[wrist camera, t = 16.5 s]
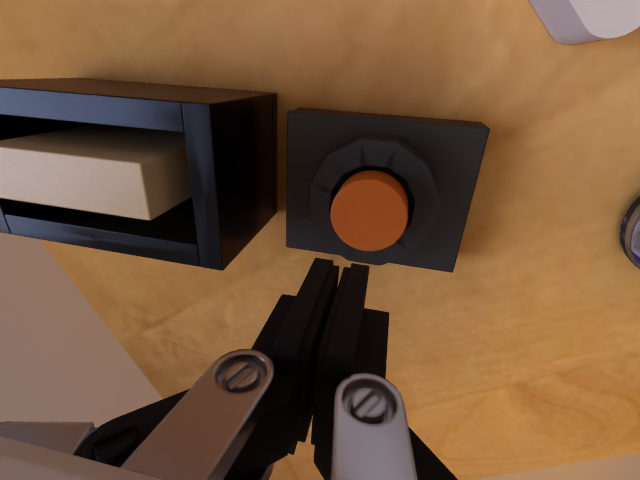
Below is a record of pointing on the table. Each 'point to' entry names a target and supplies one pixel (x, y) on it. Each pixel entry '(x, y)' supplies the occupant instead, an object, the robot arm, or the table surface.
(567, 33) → the u-slot stand
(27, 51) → the table surface
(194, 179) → the toaster
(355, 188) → the button
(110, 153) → the white flat square block
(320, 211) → the button box
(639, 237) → the pill bottle
